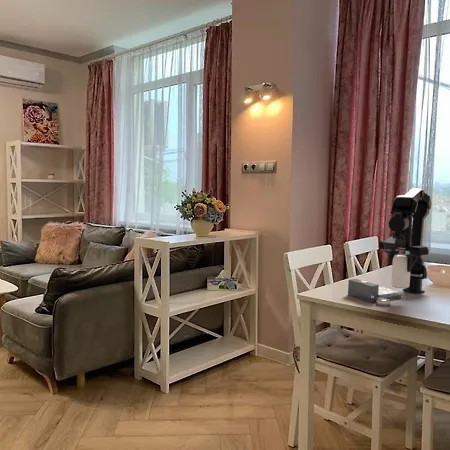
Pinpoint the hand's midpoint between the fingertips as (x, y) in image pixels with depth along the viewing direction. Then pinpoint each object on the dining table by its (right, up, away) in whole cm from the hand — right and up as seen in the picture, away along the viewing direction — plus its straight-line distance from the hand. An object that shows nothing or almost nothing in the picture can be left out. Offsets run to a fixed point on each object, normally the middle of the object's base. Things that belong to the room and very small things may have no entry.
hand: (401, 270), depth 177 cm
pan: (-5, -10, +11) cm, 16 cm away
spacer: (-7, -13, -1) cm, 15 cm away
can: (0, -6, +1) cm, 7 cm away
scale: (-7, -12, +10) cm, 17 cm away
